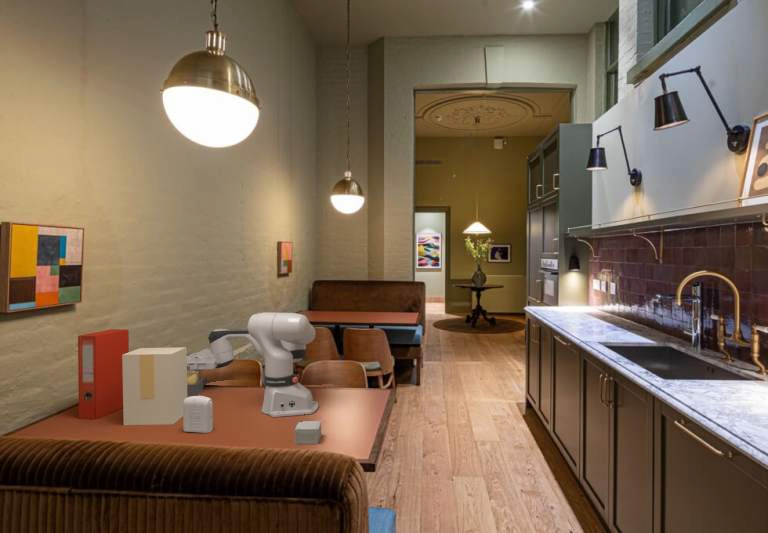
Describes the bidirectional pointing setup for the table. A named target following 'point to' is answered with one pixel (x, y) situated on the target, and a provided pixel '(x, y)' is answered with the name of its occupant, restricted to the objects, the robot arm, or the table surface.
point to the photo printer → (198, 414)
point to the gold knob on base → (195, 383)
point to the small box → (308, 432)
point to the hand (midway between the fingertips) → (187, 368)
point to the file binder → (101, 372)
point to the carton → (154, 385)
